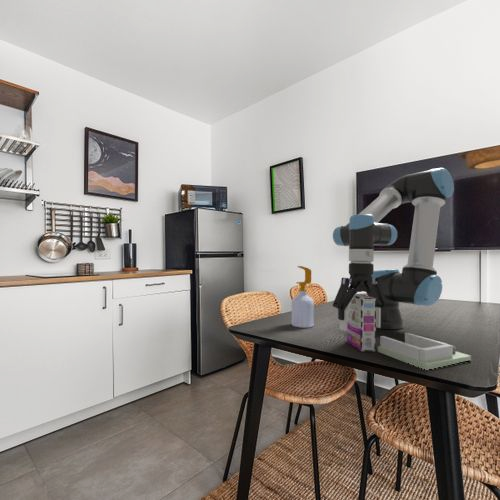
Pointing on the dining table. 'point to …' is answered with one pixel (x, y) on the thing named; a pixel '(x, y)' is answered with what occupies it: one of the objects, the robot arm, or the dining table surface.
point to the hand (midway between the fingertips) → (360, 328)
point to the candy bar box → (362, 323)
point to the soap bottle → (303, 304)
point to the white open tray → (421, 351)
